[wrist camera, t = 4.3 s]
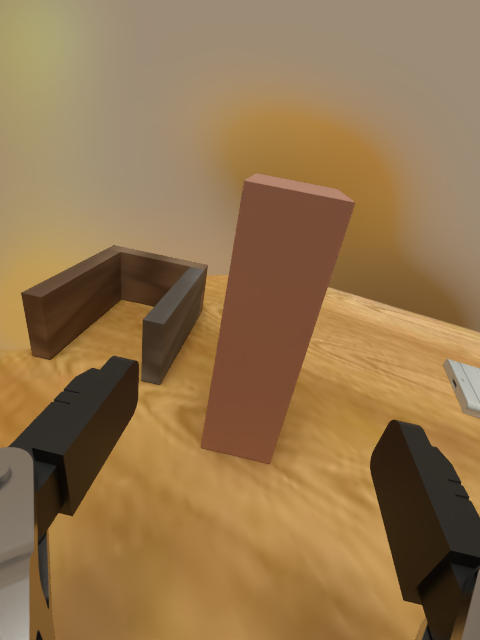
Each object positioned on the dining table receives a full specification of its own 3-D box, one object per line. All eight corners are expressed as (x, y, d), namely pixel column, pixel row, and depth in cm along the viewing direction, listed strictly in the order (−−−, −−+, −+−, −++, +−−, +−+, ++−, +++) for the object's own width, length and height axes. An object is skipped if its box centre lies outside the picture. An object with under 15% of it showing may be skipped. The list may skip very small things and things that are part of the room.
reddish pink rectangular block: (273, 404, 25) (337, 189, 17) (269, 464, 20) (355, 202, 12) (217, 391, 25) (256, 173, 18) (200, 447, 20) (244, 180, 13)
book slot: (202, 310, 37) (207, 265, 34) (160, 384, 25) (163, 324, 22) (115, 291, 37) (113, 245, 34) (32, 355, 25) (21, 292, 23)
